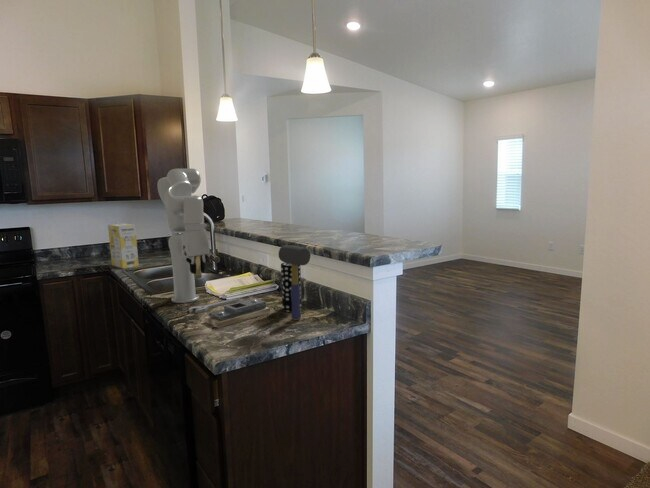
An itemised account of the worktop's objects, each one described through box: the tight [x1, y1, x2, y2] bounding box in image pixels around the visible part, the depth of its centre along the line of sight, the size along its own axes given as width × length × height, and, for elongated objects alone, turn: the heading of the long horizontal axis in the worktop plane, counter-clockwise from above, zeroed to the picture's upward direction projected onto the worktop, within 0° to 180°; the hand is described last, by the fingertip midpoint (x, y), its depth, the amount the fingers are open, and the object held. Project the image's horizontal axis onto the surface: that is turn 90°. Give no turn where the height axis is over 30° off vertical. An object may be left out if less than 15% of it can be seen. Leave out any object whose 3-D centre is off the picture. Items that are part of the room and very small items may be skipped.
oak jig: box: [204, 306, 271, 329], centre depth 175 cm, size 10×25×2 cm, turn 135°
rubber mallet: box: [278, 244, 311, 321], centre depth 168 cm, size 12×8×30 cm, turn 45°
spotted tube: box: [280, 262, 303, 313], centre depth 183 cm, size 8×8×20 cm
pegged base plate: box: [208, 297, 267, 321], centre depth 174 cm, size 8×22×4 cm, turn 135°
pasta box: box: [107, 223, 140, 269], centre depth 289 cm, size 18×10×28 cm, turn 47°
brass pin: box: [194, 256, 203, 279], centre depth 172 cm, size 3×3×10 cm
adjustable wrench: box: [188, 297, 241, 314], centre depth 191 cm, size 25×6×2 cm, turn 133°
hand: (197, 272), depth 173 cm, fingers closed on brass pin, 3 cm apart
